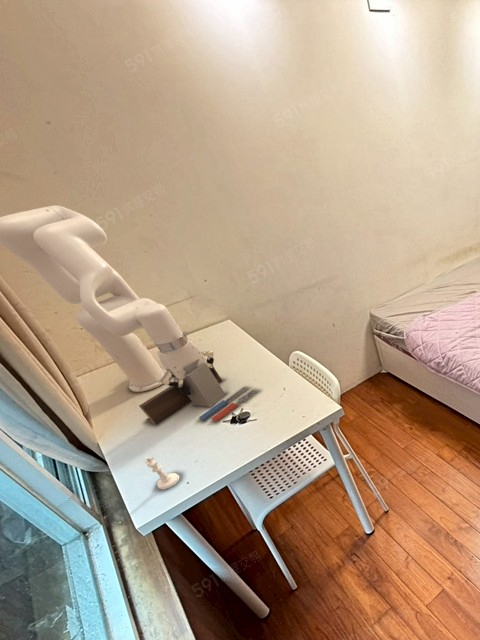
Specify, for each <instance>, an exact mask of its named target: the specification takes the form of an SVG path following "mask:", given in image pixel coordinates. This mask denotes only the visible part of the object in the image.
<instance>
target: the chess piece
mask: <svg viewBox="0 0 480 640" xmlns="http://www.w3.org/2000/svg"><path fill="white" fill-rule="evenodd" d="M144 463H145V464H146V466H147V467H149V468H151V472H152V473H157V475H158V477H159V478H160V479H159V480H158V481H157V484H156V486H157V488H158V489H160V490H167V489H170V488H171V487H173V486H174V485H176V484H177V483H178V482H179V480H180V475H179V474H177V473H175V472H171V473H166V472H165V471H163V470H162V469H163V466H162V465H160V464H159V465H158V462H157V459H154V458H153V457H152V456H151V457H147V456H146V457H145V461H144Z"/></svg>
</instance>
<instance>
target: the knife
mask: <svg viewBox="0 0 480 640" xmlns="http://www.w3.org/2000/svg"><path fill="white" fill-rule="evenodd" d="M248 390H249V388H248V387H243V388H241V389H239V390H238V391H236V392H235V393H234V394H233V395H231V396H230V397H229V398H227V399H226V400H221V401H220V402H218V403H217V404H216V405H213V406H212V407H210V409H209V410H207V411H206V412H205V413H203V414H202V415H200V416H198V418H199V420H200V421H203V422H206V421H207V420H208V419H211V418H212V416H213V417H214V416H215V415H216V414H218V413H219V412H220V411H222V410H223V409H225V408H226V407H227V406H229V405H230V404H231V403H232V402H233V401H234V400H235V399H237V398H238V397H239V396H241V395H243V394H244V393H245V392H246V391H248Z"/></svg>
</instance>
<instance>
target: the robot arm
mask: <svg viewBox="0 0 480 640" xmlns="http://www.w3.org/2000/svg"><path fill="white" fill-rule="evenodd" d="M107 242H108V236H107V234H106V232H105V230H104V229H103V228H102V227H101V225H99V224H98V223H96V222H95V221H94V220H92V219H91V218H90V217H87V216H86V215H85V214H82V213H80V212H77V211H75V210H72V209H70V208H67V207H65V206H62V205H49V206H48V205H47V206H43V207H38V208H35V209H30V210H24V211H19V212H15V213H10V214H7V215H3V216H0V245H1V246H2V247H3V248H4V249H6V250H8V251H9V252H10V253H12V254H13V255H15V256H16V257H18V258H20V259H21V260H22V261H24V262H26V263H27V264H28V265H30V266H31V267H32V268H33V269H34V270H35V272H37V273H38V274H39V276H40V277H42V279H44V281H45V282H46V283H47V284H48V285H49V286H50V287H51V288H52V289H53V290H54V291H55V292H56V293H57V294H58V295H59V296H60V297H61V298H62V299H63V300H64V301H66V302H67V303H70V304H72V305H73V304H74V305H78V304H82V306H83V308H82V309H80V310H79V311H78V312H77V313H76V316H75V318H76V321H77V323H78V324H79V325H80V326H81V328H82V329H83V330H85V331H86V332H87V333H88V334H90V336H92V337H93V338H94V339H95V341H97V342H98V344H99V345H100V346H101V347H102V348H103V349H104V351H105V352H106V353H107V354H108V355H109V356H110V358H111V359H112V360H113V361H114V363H115V364H116V365H117V366H118V367H119V369H120V370H121V371H122V373H123V374H124V375H125V376H126V378H127V379H128V380H129V381H130V382H129V384H128V389H130V391H132V392H136V393H141V392H142V393H143V392H147V391H150V390H153V389H156V388H158V387H159V386H161V385H163V384H164V385H166V386H168V387H170V386H174V387H177V388H178V390H179V391H180V392H181V393H182V394H186V395H191V393H190V391H189V390H188V389H187V387H186V386H185V385H183V380H184V378H186V377H185V375H186V374H187V372H186V371H185V370H184V369H183V368H185V367H187V366H188V365H190V364H192V363H193V362H195V361H197V360H198V359H199V362H198V365H197V367H199V366H200V365H202V364H203V363H206V364H207V366H208V367H209V369H210V370H211V372H212V373H213V375H214V377H215V378H217V376H216V372H215V371H214V369H213V367H214V362H215V358H214V351H210V350H208V351H207V350H206V351H200V349H199V348H198V347H197V346H196V345H195V344H194V342H192V341H191V340H190V339H188V338H187V337H188V336H189V335H190V333H189V332H188V331H187V330H186V331H182V330H181V328H180V326H179V325H178V324H177V321H175V319H174V317H173V315H172V314H171V313H170V311H169V309H168V308H167V307H166V306H165V305H164V304H163V303H157V302H156V301H155V300H153V299H151V298H147V297H142V298H140V297H139V296H138V295H137V294H136V292H135V291H134V290H133V288H131V286H130V285H129V283H127V282H126V281H125V279H124V278H123V277H122V276H121V275H120V273H118V271H117V270H115V269H114V268H113V267H112V266H111V265H110V264H109V263H108V262H107V261H106V260H105V259H103V258H102V256H100V255H99V254H98V252H96V251H95V250H94V248H97V247H100V246H104V245H105V244H107ZM107 294H110V295H111V296H110V297H108V298H105V299H104V300H100V301H97V298H99V297H102V296H105V295H107ZM141 329H144V331H145V332H146V333H147V335H148V336H149V338H150V339H151V341H152V342H153V343H154V345H155V347H156V348H157V349H158V351H157V356H158V358H159V361H160V362H161V365H162V367H163V368H161V367H160V365H159V363H158V362H157V360H156V359H155V358H154V357H153V356H152V354H151V353H150V351H149V350H148V348H147V347H146V345H145V344H144V342H143V341H142V340H141V339H140V337H138V335H137V334H135V332H137V331H139V330H141ZM205 357H207V358H205ZM171 378H173V380H172V381H170V379H171Z"/></svg>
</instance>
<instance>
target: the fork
mask: <svg viewBox="0 0 480 640" xmlns="http://www.w3.org/2000/svg"><path fill="white" fill-rule="evenodd" d="M258 392H259V391H257V390H254V389H252V390H250V391H249V392H248V393H246V394H245V395H243V396H242V397H240V398H239V399H238V400H239V401H237V402H236V403H234V402H231V403H229V404H228V405H227V406H225V407H224V408H223V409H221V410H220V411H218V412H217V413H216V414H214V415H213V417H210V419H211V421H212V422H215V423H218V422H220V421H221V420H222V419H224V418H225V417H226V416H228V415H229V414H230V413H232V412H233V411H235V410H236V409H237V408H238V407H239V405H241V404H242V403H243V402H244V403H246V402H247V401H248V400H249V399H251V398H252V397H253V396H255V395H256V394H257V393H258Z"/></svg>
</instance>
